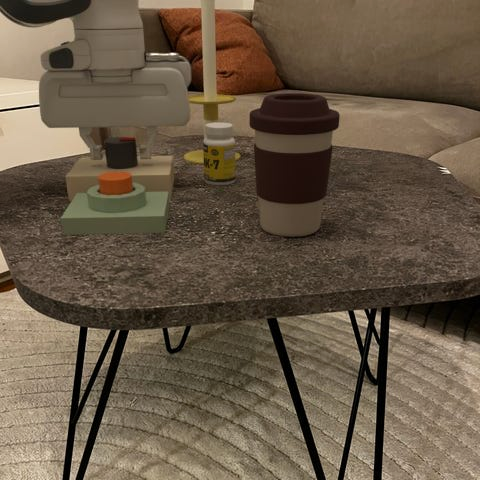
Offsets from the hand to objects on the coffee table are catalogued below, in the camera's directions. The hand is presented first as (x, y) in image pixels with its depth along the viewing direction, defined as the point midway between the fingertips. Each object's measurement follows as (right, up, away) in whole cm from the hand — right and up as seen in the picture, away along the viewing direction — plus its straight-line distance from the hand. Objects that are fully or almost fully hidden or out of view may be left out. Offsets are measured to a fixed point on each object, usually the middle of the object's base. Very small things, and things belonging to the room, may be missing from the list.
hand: (121, 158), depth 84 cm
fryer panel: (0, -4, +2) cm, 4 cm away
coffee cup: (+23, -12, -13) cm, 29 cm away
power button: (+2, -7, -12) cm, 14 cm away
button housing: (+2, -11, -10) cm, 15 cm away
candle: (+12, +5, +19) cm, 23 cm away
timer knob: (0, -1, 0) cm, 1 cm away
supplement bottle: (+14, -2, +5) cm, 15 cm away
